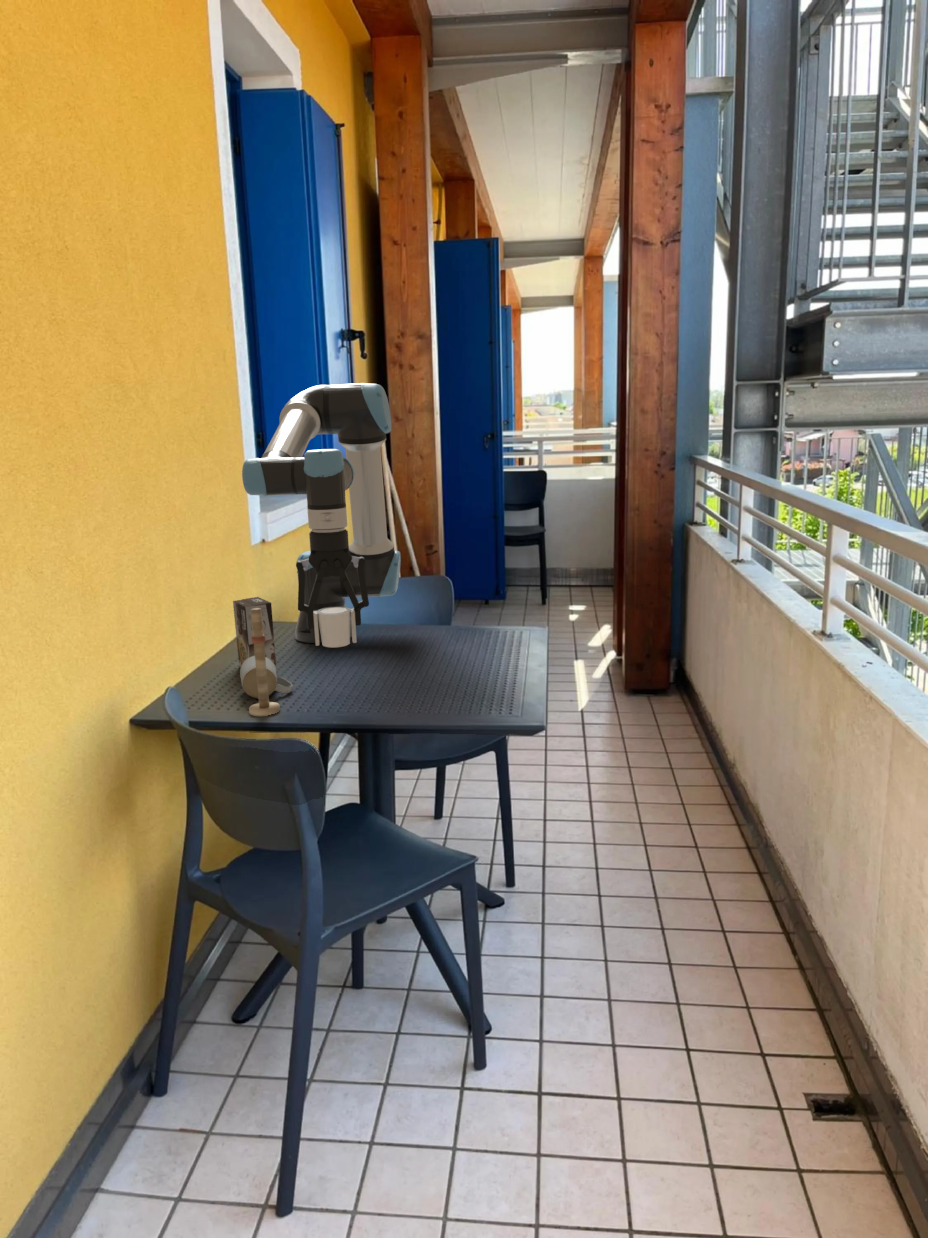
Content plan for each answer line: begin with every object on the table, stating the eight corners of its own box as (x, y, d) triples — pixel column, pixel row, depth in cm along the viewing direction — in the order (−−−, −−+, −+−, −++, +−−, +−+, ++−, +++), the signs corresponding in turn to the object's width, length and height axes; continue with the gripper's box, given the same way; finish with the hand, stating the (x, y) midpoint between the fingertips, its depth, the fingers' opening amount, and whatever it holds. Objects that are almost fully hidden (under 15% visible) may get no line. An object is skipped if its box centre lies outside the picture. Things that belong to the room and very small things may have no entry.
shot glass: (348, 637, 189) (346, 604, 187) (356, 645, 183) (354, 611, 181) (315, 641, 187) (313, 608, 185) (323, 650, 180) (320, 615, 179)
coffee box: (277, 670, 211) (272, 602, 207) (250, 675, 208) (244, 606, 204) (264, 661, 218) (258, 595, 215) (238, 666, 215) (232, 599, 211)
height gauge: (250, 707, 185) (241, 607, 180) (280, 705, 186) (272, 605, 181) (248, 717, 179) (239, 613, 175) (279, 715, 180) (271, 611, 175)
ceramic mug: (243, 702, 189) (240, 666, 187) (241, 690, 197) (238, 656, 195) (294, 697, 192) (292, 662, 190) (290, 686, 199) (288, 652, 198)
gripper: (276, 534, 174) (286, 651, 179) (379, 529, 177) (386, 643, 182) (277, 529, 181) (287, 641, 186) (377, 524, 184) (383, 634, 189)
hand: (336, 642), depth 184 cm, fingers closed on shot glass, 7 cm apart
